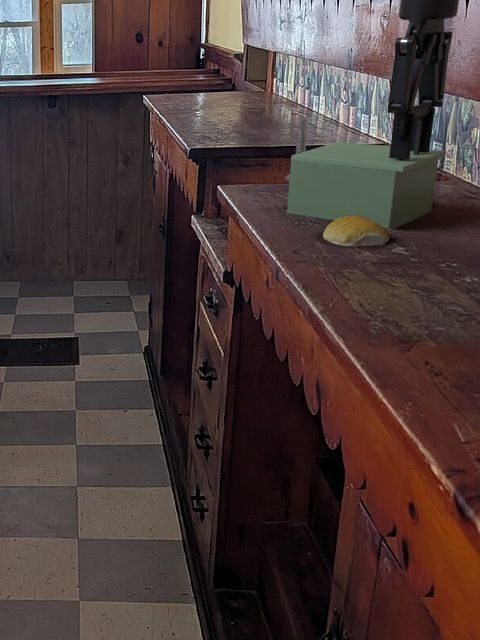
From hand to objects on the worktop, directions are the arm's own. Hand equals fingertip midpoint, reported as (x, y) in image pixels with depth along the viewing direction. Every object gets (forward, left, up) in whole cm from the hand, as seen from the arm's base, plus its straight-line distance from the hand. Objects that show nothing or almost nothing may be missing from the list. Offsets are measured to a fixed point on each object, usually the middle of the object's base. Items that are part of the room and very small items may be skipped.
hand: (409, 154), depth 130 cm
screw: (+24, -11, -10) cm, 28 cm away
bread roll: (-1, +17, -10) cm, 20 cm away
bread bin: (+7, 0, -10) cm, 12 cm away
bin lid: (+6, 0, -1) cm, 7 cm away
